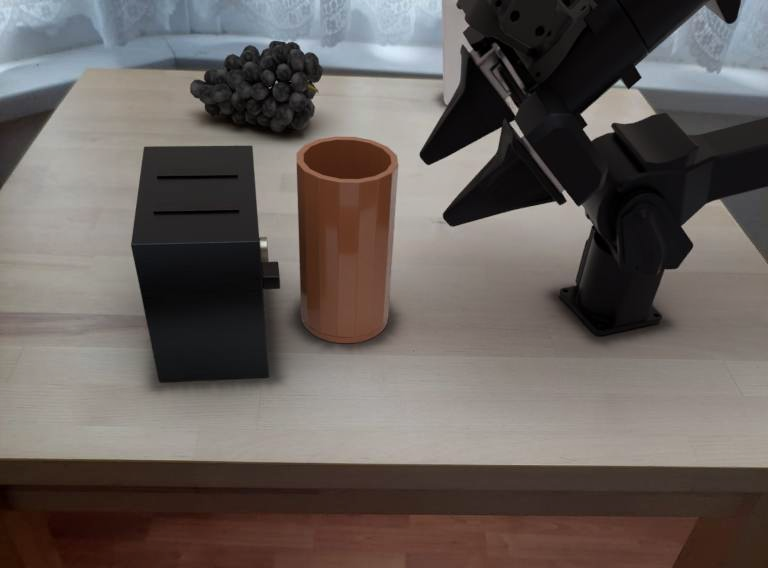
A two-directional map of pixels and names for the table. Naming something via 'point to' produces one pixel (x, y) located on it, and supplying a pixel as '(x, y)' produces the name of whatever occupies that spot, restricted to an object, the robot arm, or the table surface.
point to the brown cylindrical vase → (346, 236)
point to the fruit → (263, 87)
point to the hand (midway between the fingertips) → (434, 189)
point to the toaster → (202, 262)
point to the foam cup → (452, 46)
